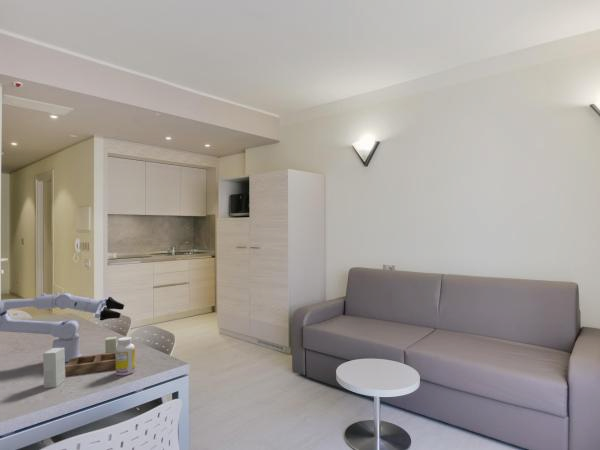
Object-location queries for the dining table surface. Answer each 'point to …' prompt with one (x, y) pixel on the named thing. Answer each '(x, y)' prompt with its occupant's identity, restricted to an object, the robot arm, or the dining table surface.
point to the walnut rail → (90, 364)
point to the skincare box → (54, 367)
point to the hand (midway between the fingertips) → (121, 311)
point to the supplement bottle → (125, 356)
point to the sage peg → (110, 344)
